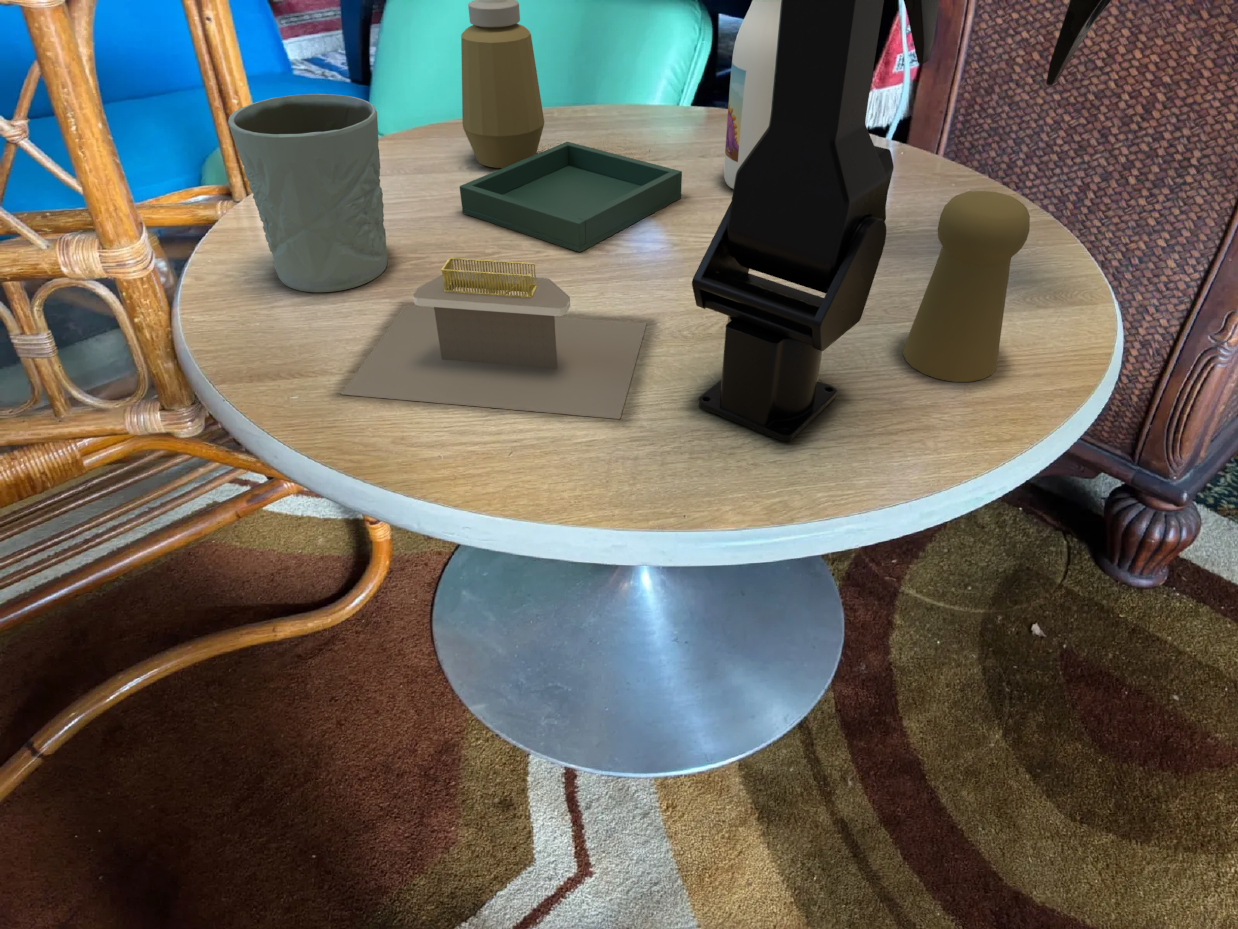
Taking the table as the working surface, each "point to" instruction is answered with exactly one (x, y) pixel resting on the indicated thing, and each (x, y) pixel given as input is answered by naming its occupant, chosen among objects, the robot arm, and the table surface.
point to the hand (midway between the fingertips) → (984, 72)
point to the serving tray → (571, 194)
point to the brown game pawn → (968, 287)
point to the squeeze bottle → (499, 85)
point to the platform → (501, 348)
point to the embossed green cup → (316, 187)
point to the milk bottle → (751, 83)
